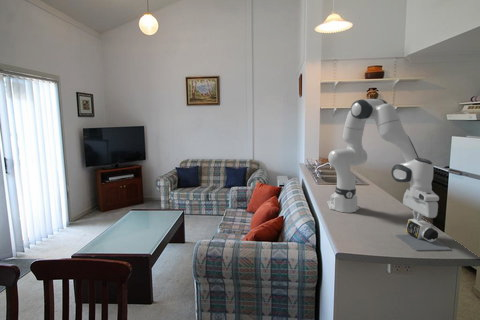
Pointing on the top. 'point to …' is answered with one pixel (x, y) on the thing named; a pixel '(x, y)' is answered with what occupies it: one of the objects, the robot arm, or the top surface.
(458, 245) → the top surface
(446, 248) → the dark rubber mat
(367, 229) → the top surface
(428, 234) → the medicine bottle
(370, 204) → the top surface
